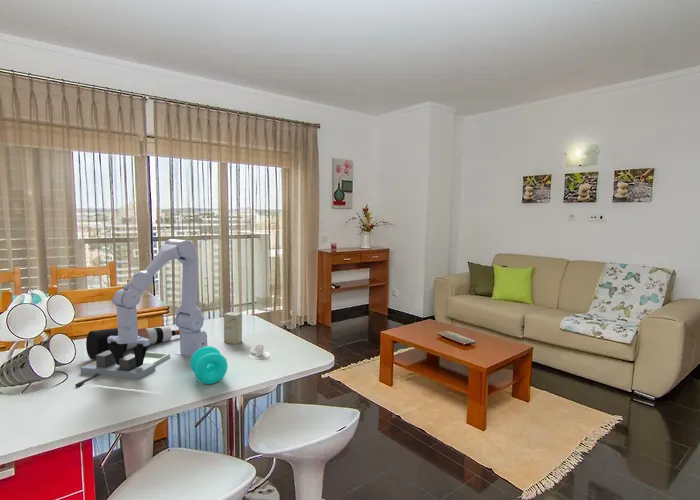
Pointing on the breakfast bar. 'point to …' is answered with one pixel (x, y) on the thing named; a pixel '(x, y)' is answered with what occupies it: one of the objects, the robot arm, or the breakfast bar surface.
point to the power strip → (113, 368)
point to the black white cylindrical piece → (99, 344)
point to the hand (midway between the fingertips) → (129, 364)
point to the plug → (127, 363)
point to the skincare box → (232, 327)
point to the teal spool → (208, 365)
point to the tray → (155, 357)
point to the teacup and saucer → (258, 352)
